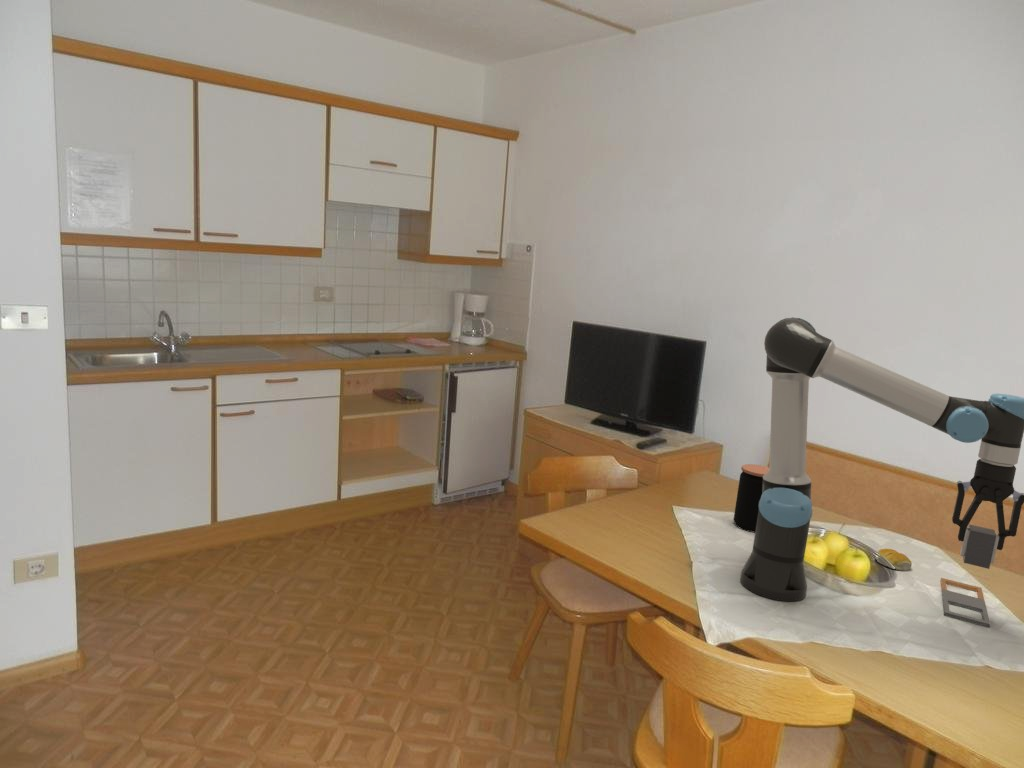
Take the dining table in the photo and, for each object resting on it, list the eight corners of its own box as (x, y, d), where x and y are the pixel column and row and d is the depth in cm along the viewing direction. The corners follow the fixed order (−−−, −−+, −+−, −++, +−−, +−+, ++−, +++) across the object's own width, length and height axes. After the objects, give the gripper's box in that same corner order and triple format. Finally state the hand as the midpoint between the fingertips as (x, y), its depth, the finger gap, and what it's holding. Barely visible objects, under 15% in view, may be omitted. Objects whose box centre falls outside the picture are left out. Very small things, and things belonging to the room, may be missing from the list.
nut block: (989, 568, 163) (996, 535, 162) (963, 562, 165) (970, 530, 164) (987, 562, 167) (994, 529, 166) (962, 556, 170) (969, 524, 168)
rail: (989, 627, 161) (990, 624, 161) (944, 615, 166) (944, 612, 166) (980, 590, 182) (981, 587, 182) (940, 580, 187) (940, 577, 186)
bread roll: (891, 557, 200) (894, 544, 200) (915, 571, 192) (918, 557, 191) (866, 557, 199) (869, 544, 198) (890, 571, 190) (892, 557, 189)
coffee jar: (763, 536, 208) (772, 476, 205) (727, 525, 214) (736, 468, 211) (774, 527, 216) (783, 470, 213) (740, 517, 222) (748, 462, 219)
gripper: (1042, 467, 161) (1021, 563, 165) (950, 451, 170) (932, 543, 174) (1047, 474, 155) (1025, 574, 158) (951, 456, 163) (932, 552, 167)
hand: (976, 557), depth 166 cm, fingers closed on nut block, 5 cm apart
